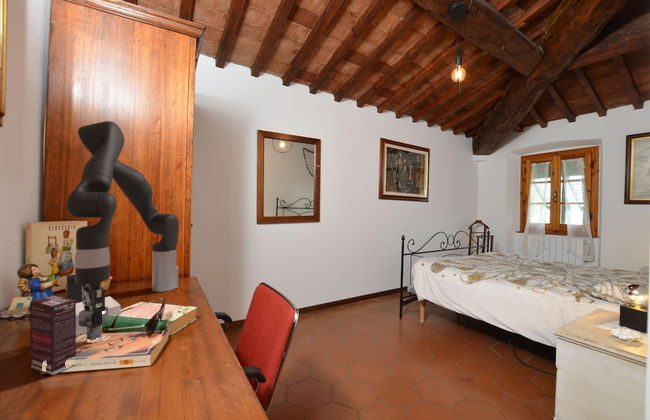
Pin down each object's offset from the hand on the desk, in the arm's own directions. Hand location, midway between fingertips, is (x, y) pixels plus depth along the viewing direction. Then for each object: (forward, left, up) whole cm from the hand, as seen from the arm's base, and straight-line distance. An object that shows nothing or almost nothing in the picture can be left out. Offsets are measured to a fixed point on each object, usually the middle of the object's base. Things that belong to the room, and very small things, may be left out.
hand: (93, 321), depth 78 cm
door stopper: (-2, -34, -6) cm, 35 cm away
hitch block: (-2, -13, -6) cm, 14 cm away
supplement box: (+9, +8, -6) cm, 13 cm away
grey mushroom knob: (0, 0, -6) cm, 6 cm away
